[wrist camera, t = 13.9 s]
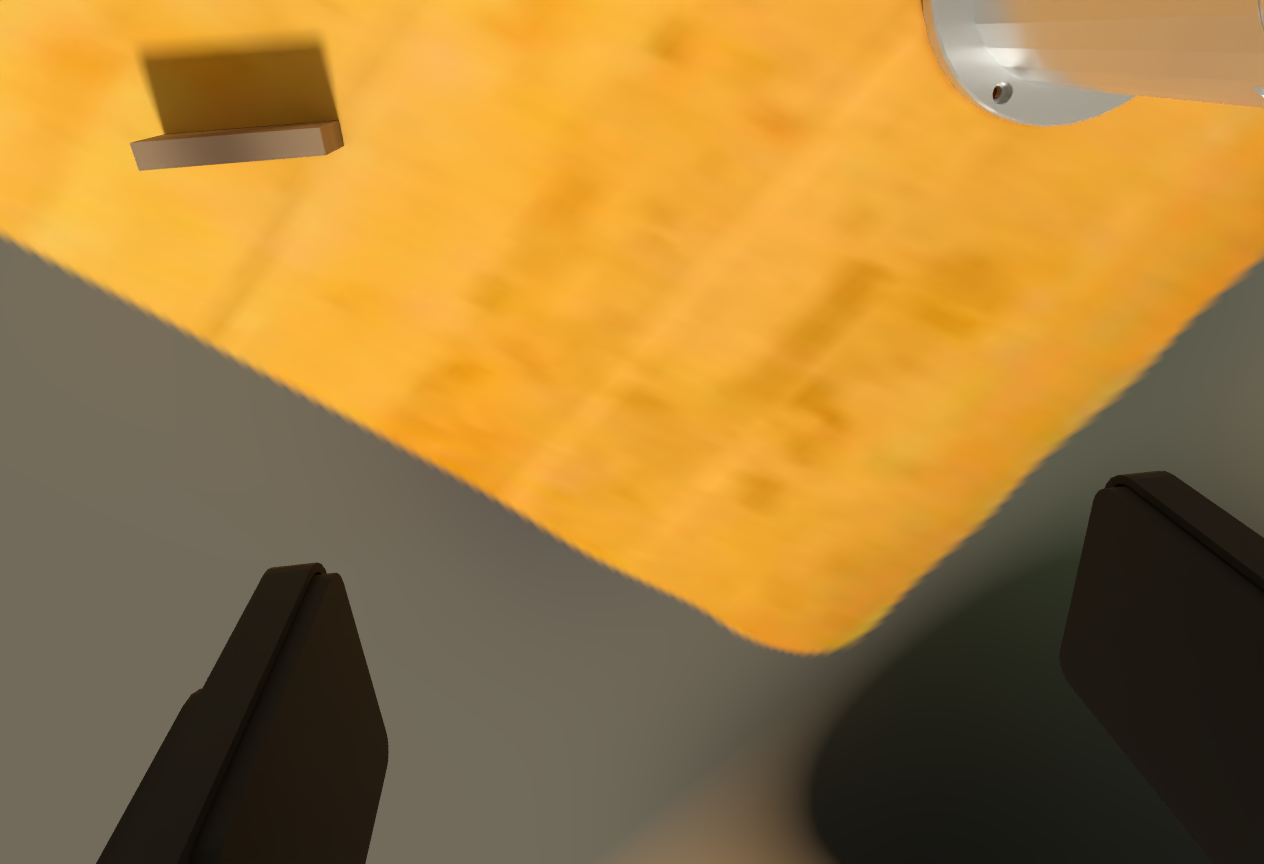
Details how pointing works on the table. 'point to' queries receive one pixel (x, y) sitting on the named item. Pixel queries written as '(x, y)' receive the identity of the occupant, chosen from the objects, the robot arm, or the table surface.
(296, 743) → the robot arm
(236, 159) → the rack
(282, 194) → the table surface
